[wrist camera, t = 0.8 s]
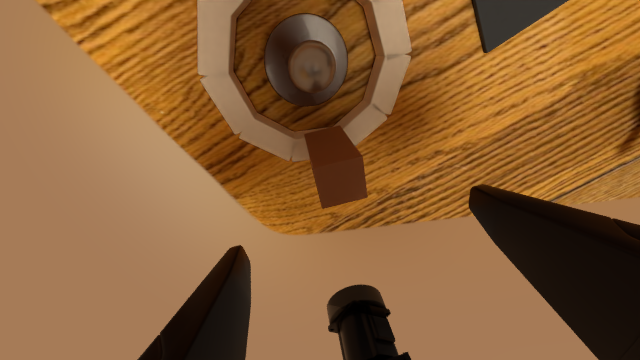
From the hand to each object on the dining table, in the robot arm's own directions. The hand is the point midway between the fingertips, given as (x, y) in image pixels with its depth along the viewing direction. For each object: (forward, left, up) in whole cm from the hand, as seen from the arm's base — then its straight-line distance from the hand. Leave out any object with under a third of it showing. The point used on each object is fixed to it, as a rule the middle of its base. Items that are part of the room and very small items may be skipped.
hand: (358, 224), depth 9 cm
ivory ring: (+4, +3, -10) cm, 11 cm away
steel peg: (+4, +3, -10) cm, 11 cm away
